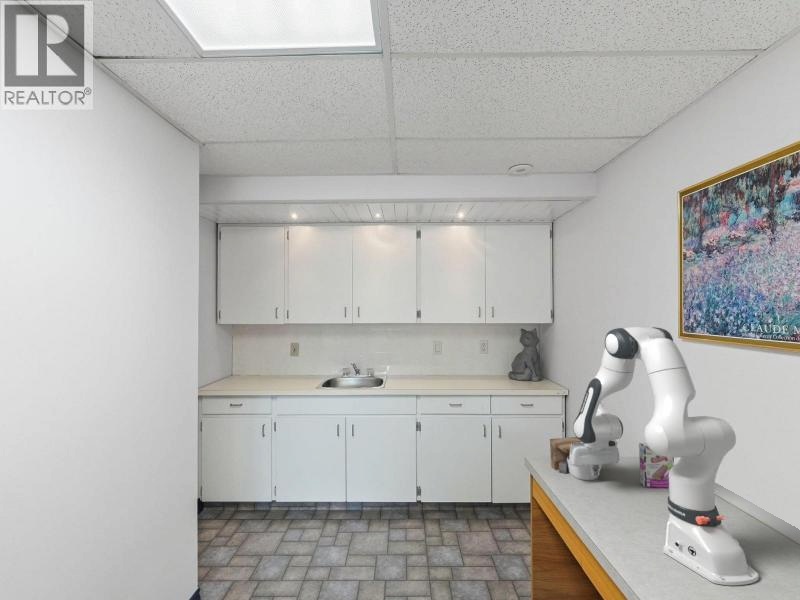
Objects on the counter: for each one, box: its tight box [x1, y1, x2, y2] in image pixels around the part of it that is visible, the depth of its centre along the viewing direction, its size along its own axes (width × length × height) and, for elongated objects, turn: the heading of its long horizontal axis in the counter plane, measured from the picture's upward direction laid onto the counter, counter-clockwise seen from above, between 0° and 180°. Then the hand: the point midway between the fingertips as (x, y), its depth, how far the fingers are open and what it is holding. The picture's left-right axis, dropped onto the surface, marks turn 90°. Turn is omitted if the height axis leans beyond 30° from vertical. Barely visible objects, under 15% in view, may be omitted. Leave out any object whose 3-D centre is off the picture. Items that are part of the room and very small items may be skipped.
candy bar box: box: [638, 442, 675, 489], centre depth 163 cm, size 11×5×16 cm, turn 84°
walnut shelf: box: [549, 436, 582, 475], centre depth 179 cm, size 14×19×12 cm
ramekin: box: [567, 455, 600, 481], centre depth 175 cm, size 13×13×7 cm
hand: (594, 474), depth 167 cm, fingers closed, pressing on ramekin
